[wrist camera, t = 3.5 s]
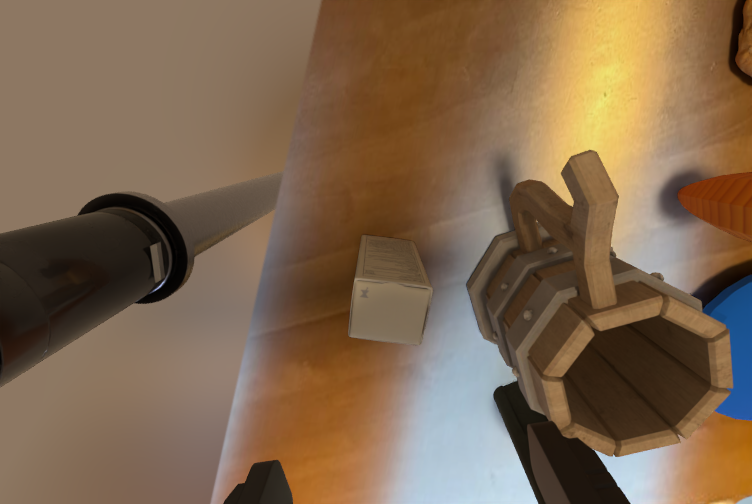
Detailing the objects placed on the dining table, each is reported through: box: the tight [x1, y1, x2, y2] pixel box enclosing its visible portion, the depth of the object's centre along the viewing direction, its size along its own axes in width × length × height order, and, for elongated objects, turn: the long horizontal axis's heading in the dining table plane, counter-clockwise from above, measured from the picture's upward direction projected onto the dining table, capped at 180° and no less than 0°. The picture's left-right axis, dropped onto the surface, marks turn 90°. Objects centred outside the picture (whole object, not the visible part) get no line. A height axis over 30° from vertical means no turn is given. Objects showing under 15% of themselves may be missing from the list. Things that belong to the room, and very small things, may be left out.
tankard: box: [467, 150, 733, 457], centre depth 25 cm, size 20×13×15 cm, turn 19°
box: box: [348, 235, 433, 345], centre depth 28 cm, size 5×4×11 cm
